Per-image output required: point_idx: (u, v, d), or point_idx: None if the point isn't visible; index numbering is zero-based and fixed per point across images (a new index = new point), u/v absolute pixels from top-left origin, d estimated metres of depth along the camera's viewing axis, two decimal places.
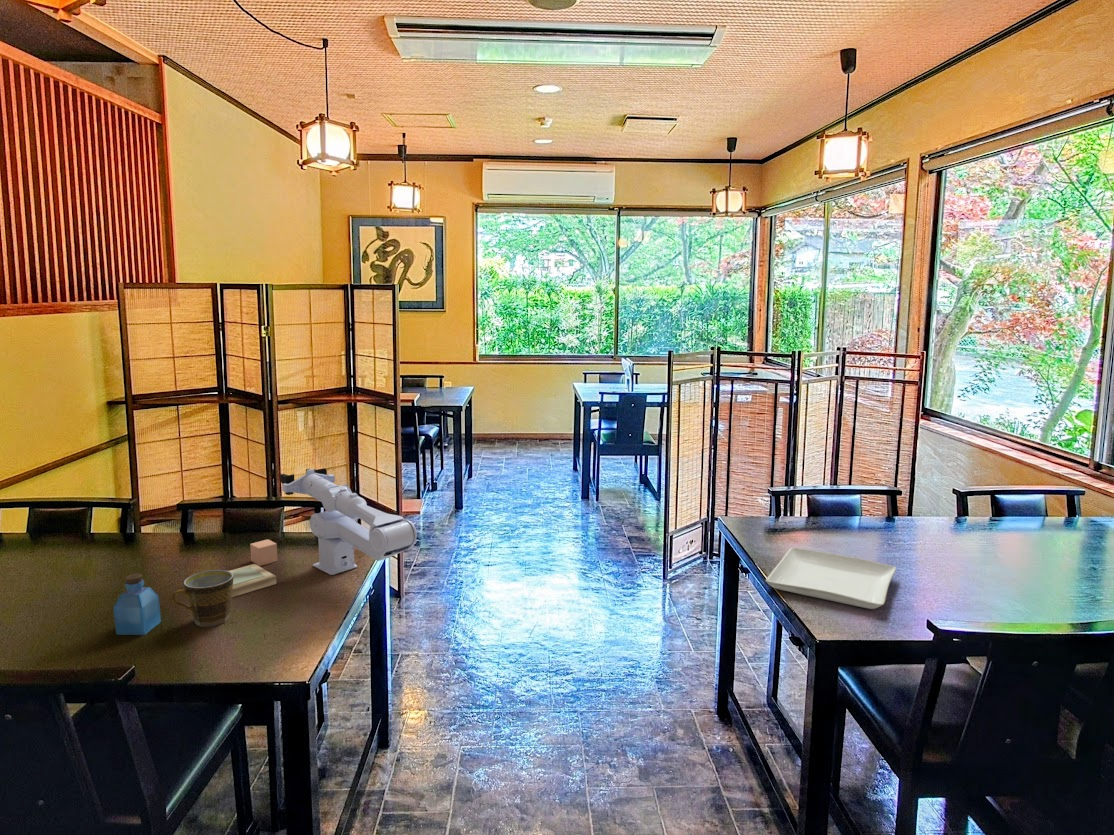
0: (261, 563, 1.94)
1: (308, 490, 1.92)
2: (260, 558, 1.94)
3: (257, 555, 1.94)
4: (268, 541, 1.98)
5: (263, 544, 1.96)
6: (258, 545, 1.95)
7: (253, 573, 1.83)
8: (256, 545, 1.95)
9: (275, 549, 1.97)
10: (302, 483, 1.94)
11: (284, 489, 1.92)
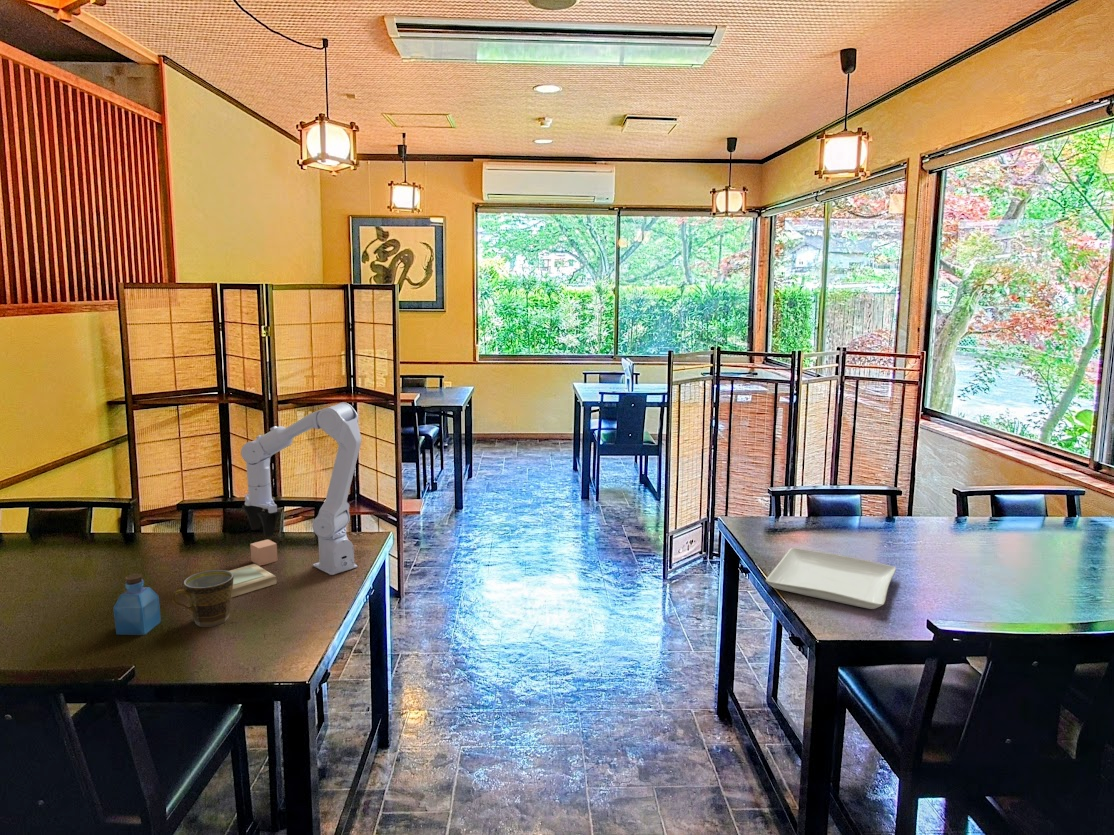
0: (261, 563, 1.94)
1: (264, 488, 1.92)
2: (260, 558, 1.94)
3: (257, 555, 1.94)
4: (268, 541, 1.98)
5: (263, 544, 1.96)
6: (259, 545, 1.95)
7: (253, 573, 1.83)
8: (256, 545, 1.95)
9: (275, 549, 1.97)
10: (262, 501, 1.92)
11: (274, 507, 1.90)
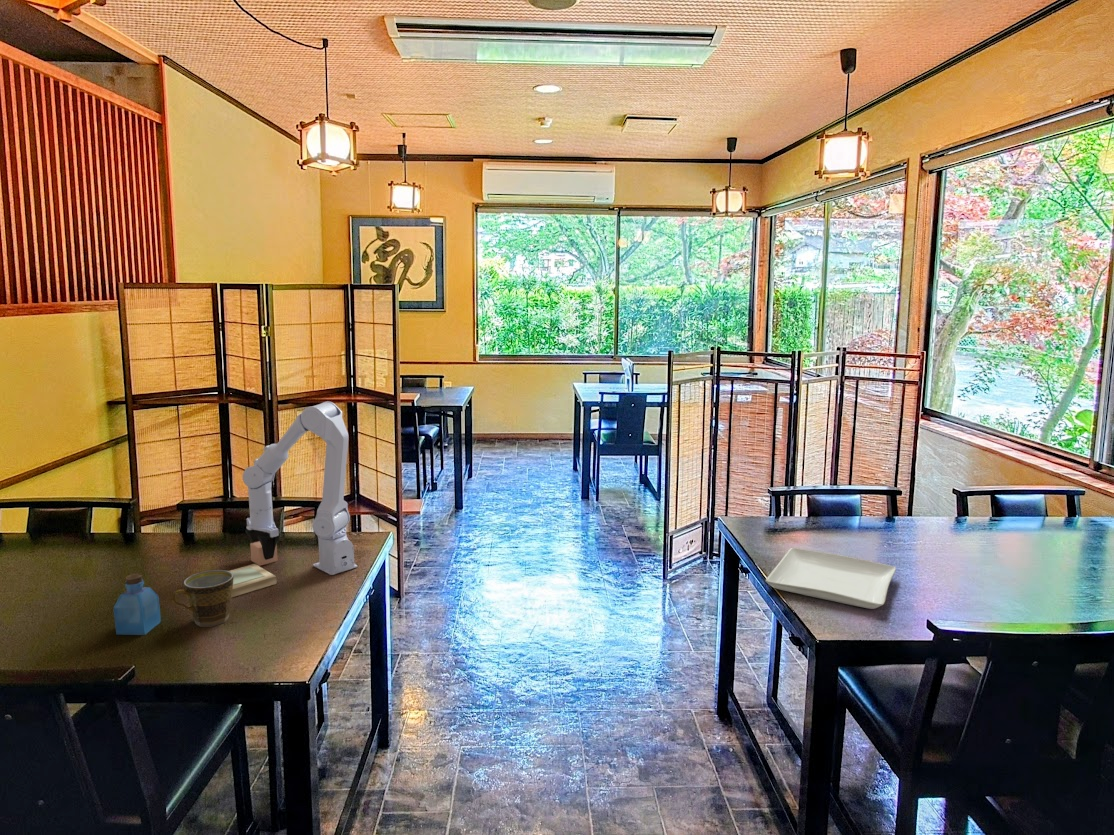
0: (261, 563, 1.94)
1: (266, 512, 1.93)
2: (260, 558, 1.94)
3: (257, 555, 1.94)
4: None
5: None
6: (258, 545, 1.95)
7: (253, 573, 1.83)
8: (256, 545, 1.95)
9: (275, 549, 1.96)
10: (263, 525, 1.93)
11: (275, 532, 1.91)
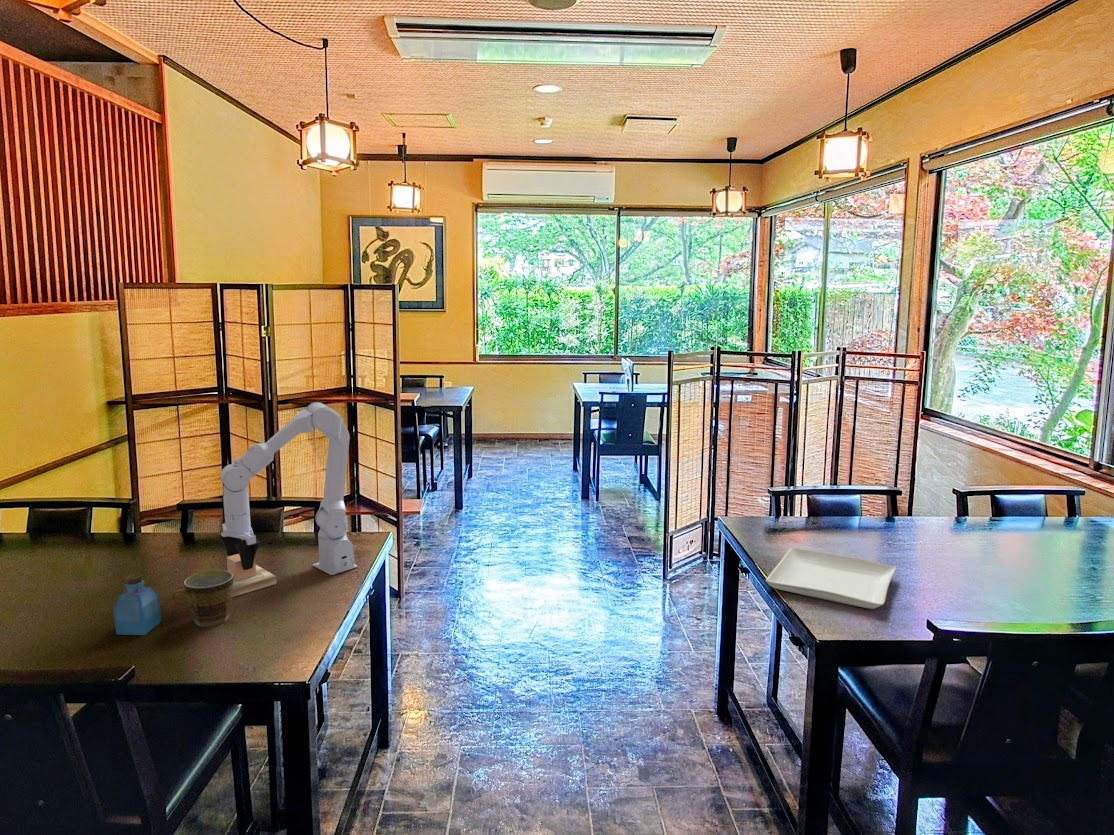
0: (238, 578, 1.78)
1: (242, 517, 1.77)
2: (237, 573, 1.78)
3: (233, 569, 1.78)
4: None
5: None
6: (235, 558, 1.79)
7: None
8: (232, 559, 1.79)
9: (253, 563, 1.81)
10: (239, 531, 1.77)
11: (253, 539, 1.75)
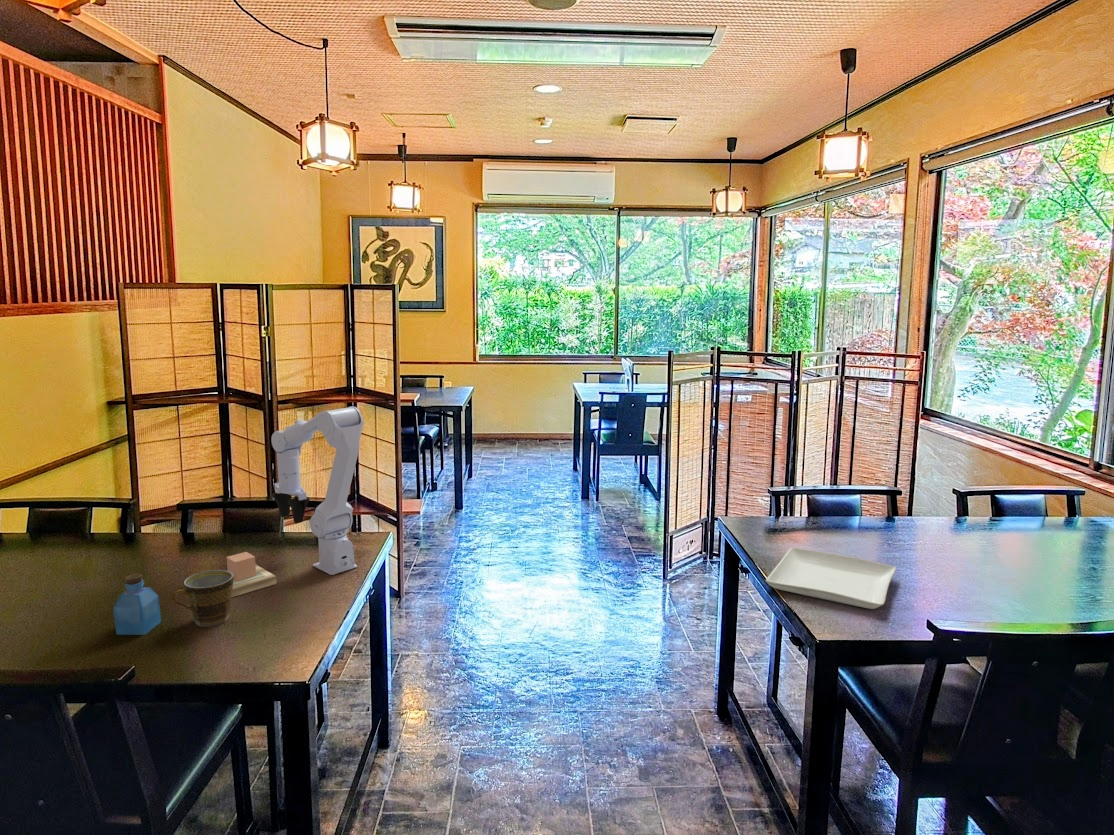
0: (238, 578, 1.78)
1: (294, 476, 1.99)
2: (237, 573, 1.78)
3: (233, 569, 1.78)
4: (246, 554, 1.82)
5: (241, 557, 1.80)
6: (235, 558, 1.79)
7: None
8: (232, 559, 1.79)
9: (253, 563, 1.81)
10: (291, 488, 1.99)
11: (304, 495, 1.97)
